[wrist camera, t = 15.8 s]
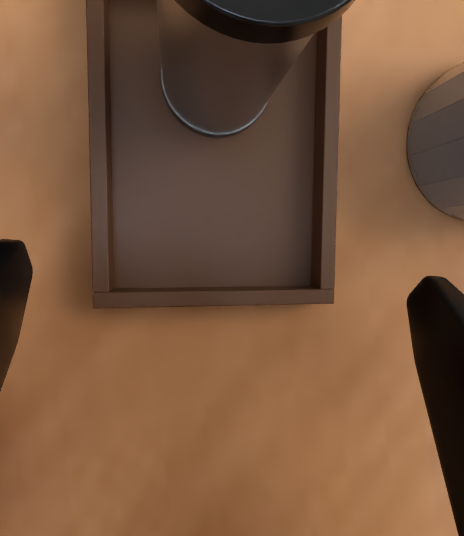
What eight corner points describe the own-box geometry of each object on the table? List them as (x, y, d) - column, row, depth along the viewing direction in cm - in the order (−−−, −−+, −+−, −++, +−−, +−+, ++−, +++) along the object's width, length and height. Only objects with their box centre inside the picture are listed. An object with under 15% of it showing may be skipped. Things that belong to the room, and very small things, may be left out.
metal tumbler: (292, 116, 21) (436, -31, 10) (187, 162, 21) (202, 66, 9) (245, 1, 21) (339, -315, 9) (134, 45, 20) (74, -229, 8)
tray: (320, 297, 23) (334, 303, 21) (100, 301, 21) (92, 308, 19) (328, 4, 22) (343, -19, 20) (93, -19, 20) (84, -47, 18)
